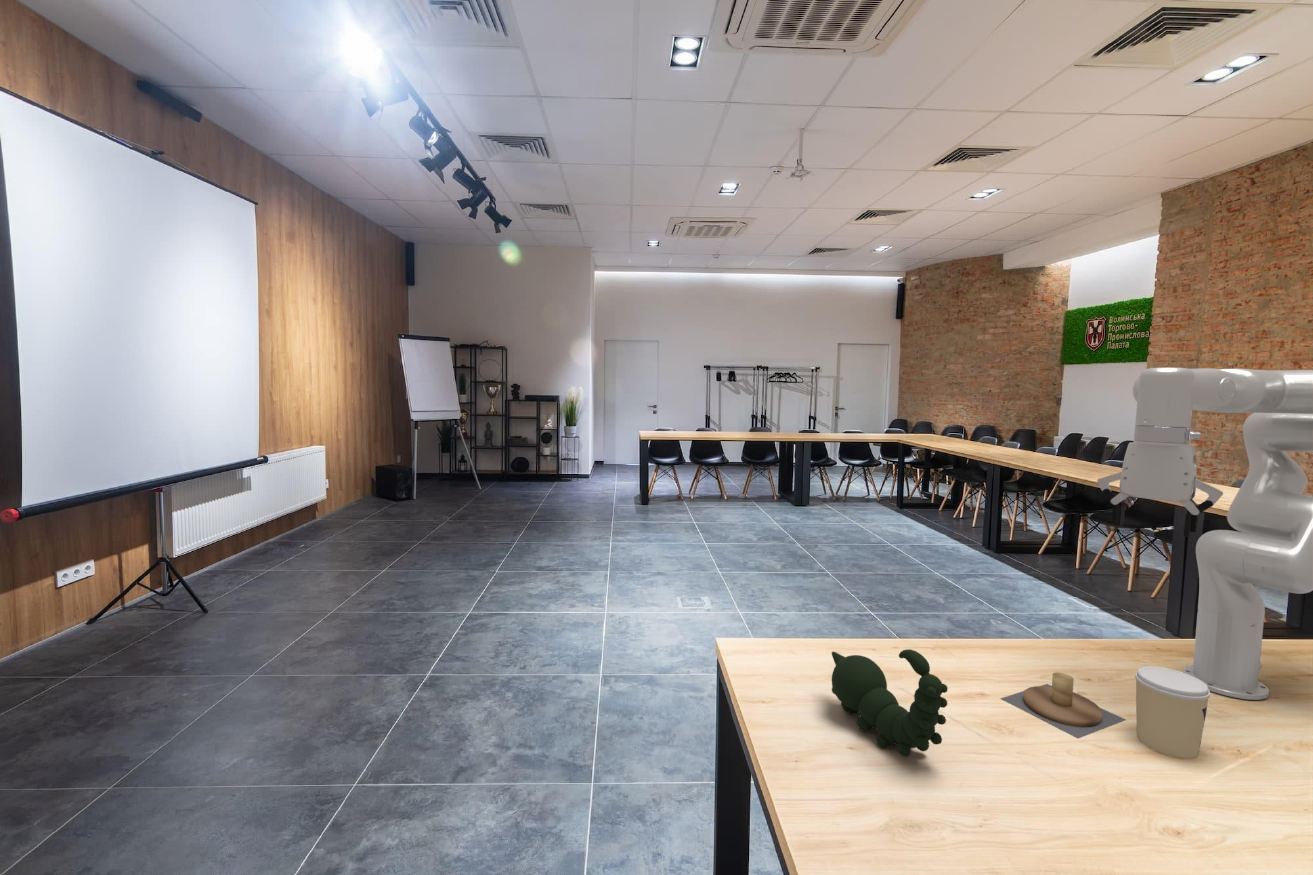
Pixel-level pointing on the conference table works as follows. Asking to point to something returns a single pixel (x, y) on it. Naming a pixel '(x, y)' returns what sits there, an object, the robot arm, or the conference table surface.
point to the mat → (1077, 732)
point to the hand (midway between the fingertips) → (1152, 530)
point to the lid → (1062, 703)
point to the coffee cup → (1170, 711)
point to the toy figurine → (890, 701)
